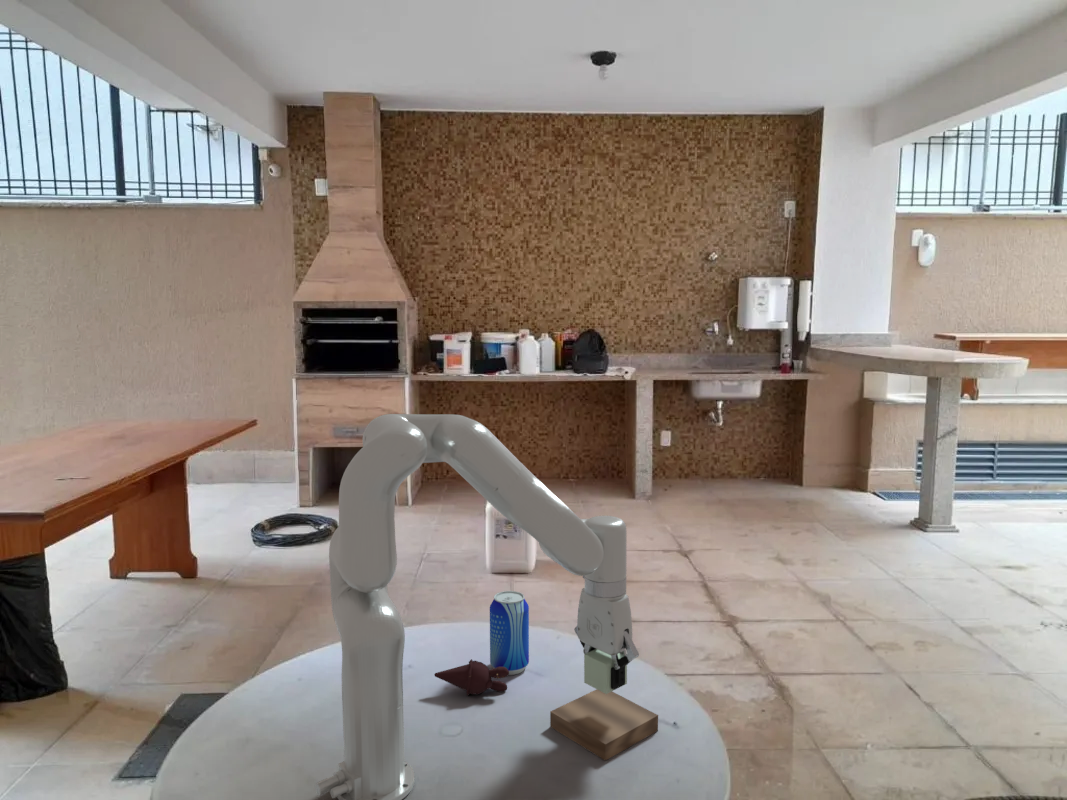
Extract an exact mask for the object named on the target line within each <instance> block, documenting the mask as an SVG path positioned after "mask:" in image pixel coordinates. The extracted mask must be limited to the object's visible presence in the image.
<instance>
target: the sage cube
mask: <svg viewBox="0 0 1067 800" xmlns="http://www.w3.org/2000/svg"><path fill="white" fill-rule="evenodd" d="M617 655H618V659H621V657H620V653H618V654H617ZM583 656H584V657H583V660H584V661H583V662H584V664H583V668H584V672H583V673H584V674H583V676H584V677H583V679H584V682H583V683H584V684H586V685H588V686H590V687H592V688H593V689H594V690H596V689H597V690H599V691H601V692H603V693H605V694H607V693H609V692H611V691H612V692H614V690H613V689H611V668H612V667H613V662H612V658H611V655H609V654H607V653H605V652H602V651H600V650H598V649H595V650H593V651H590V652H588V653H586V654H584V653H583ZM627 681H628V665H626V666H625V684H624V685H623V686H625V685H627V684H628V682H627Z"/></svg>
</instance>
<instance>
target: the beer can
mask: <svg viewBox="0 0 1067 800" xmlns="http://www.w3.org/2000/svg"><path fill="white" fill-rule="evenodd" d="M529 611H530V607H529V603H528V602H527V600H526V599H525V595H524V594H523V593H522V592H521V591H514V590H504V591H500V592H497V593H496V594H494V596H493V600H492V602H491V604H490V606H489V661H490V662H489V663H490V666H492V669H493V668H497V667H506V668H507V669H508V671H509V674H508V676H514V675H518V674H521V673H523V672H524V671H525V669H526V668H527V666H528V665H529V662H530V637H529V636H530V622H529V620H530V615H529V614H530V612H529Z"/></svg>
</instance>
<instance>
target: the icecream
mask: <svg viewBox="0 0 1067 800" xmlns="http://www.w3.org/2000/svg"><path fill="white" fill-rule="evenodd" d="M433 674H434V677H435V678H438V679H440V680H441V681H445V682H447V683H449V684H450V685H453V686H455V687H457V688H460V689H462V690H464V691H466V697H469V695H480V694H482V693H484V692H485V691H487V690H489V689H490V690H492V691H496V692H499V693H500V692H501V693H502V692H506V691H507V690H508V686H507V684H506V683H505V682H504V681H500V680H493V679H492V678H494V679H505V678H507V677H508V676H509V675H508V674H509V671H508V669H507V668H506V667H497V668H493V667H492V668H491V669H490V668H489V667H488V666H487V665H486V664H485V663H483V662H482V661H478V660H473V659H469V661H468V663H467V664H464V665H459V666H456V667H453V668H450V669H445V670H441V671H438V672H435V673H433Z"/></svg>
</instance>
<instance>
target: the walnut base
mask: <svg viewBox="0 0 1067 800" xmlns="http://www.w3.org/2000/svg"><path fill="white" fill-rule="evenodd" d="M549 714H550V716H549V717H550V718H549V719H550V720H549V721H550V722H549V724H550V725H549V726H550V728H551V729H552V730H555V731H557V732H558V733H559V734H561V735H563V736H564V737H565V738H568V739H569V740H571V741H573V742H574V743H576V744H578V745H579V746H581V747H582V748H584V749H586V750H587V751H588V752H590V753H592V754H594V755H595V756H596V757H598V758H600V759H602V760H603V761H604V762H605V761H608V760H609V759H612V758H613V757H614V756H615V757H616V755H618V754H620V753H622V752H624V751H625V750H627V749H628V748H630V747H632V746H634V745H636V744H638V743H639V742H640V741H641V742H642V740H644V739H646V738H647V737H650V736H651V735H653V734H655V733H656V732H658V731H659V715H658V714H657V713H655V712H653V711H651V710H649V709H647V708H645V707H643V706H641V705H639V704H637V703H636V702H633V701H632V700H629V699H627V698H626V697H624V696H623V695H620V694H618V693H616V692H614V691H611V692H609V693H607V694H605V693H603V692H601V691H599V690H597V689H594V690H592V691H590V692H588V693H586V694H584V695H581V696H579V697H578V698H575V699H574V700H572V701H569V702H567V703H566V704H563V705H561V706H559V707H557V708H555V709H553V710H550V713H549Z"/></svg>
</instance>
